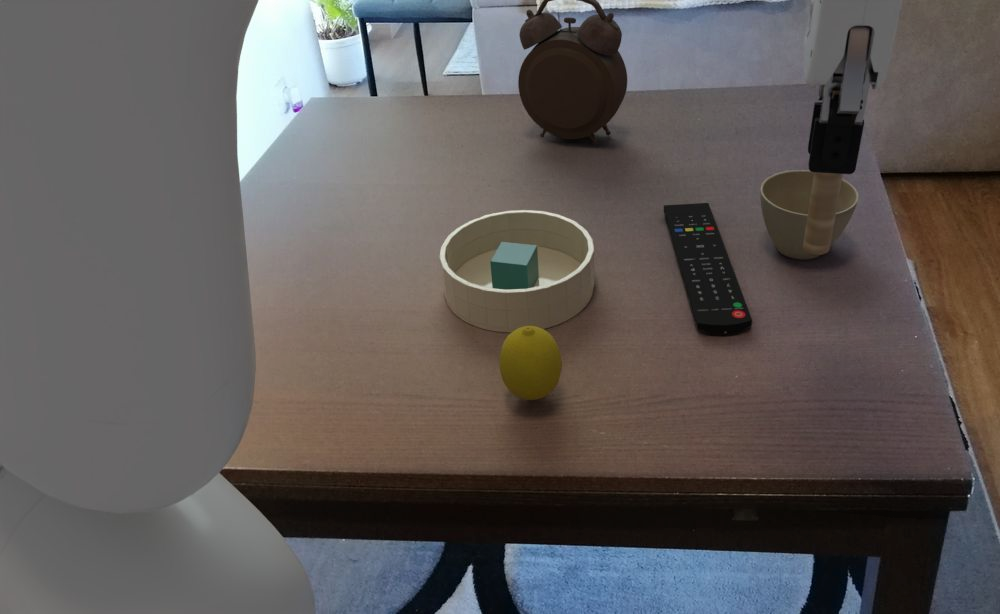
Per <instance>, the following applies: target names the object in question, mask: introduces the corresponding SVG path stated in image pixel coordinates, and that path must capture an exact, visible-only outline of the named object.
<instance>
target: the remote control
mask: <svg viewBox="0 0 1000 614" xmlns="http://www.w3.org/2000/svg"><path fill="white" fill-rule="evenodd" d="M662 210H663V214H664V218H665V222H666V224H667V228H668V231H669V235H670V239H671V242H672V245H673V249H674V253H675V255H676V259H677V263H678V268H679V270H680V274H681V277H682V281H683V284H684V287H685V291H686V295H687V298H688V302H689V305H690V309H691V312H692V315H693V319H694V323H695V327H696V329H697V330H699V331H701V332H703V333H705V334H707V335H710V336H715V337H717V336H718V337H729V336H733V335H734V336H735V335H739V334H741V333H743V332H744V331H746V330H748V329H749V328H751V327H752V325H753V318H752V316H751V313H750V310H749V307H748V304H747V302H746V300H745V297H744V294H743V292H742V289H741V287H740V284H739V281H738V278H737V276H736V273H735V269H734V268H733V264H732V262H731V260H730V257H729V254H728V251H727V248H726V247H725V243H724V241H723V238H722V235H721V232H720V230H719V227H718V225H717V222H716V219H715V216H714V214H713V211H712V209H711V206H710V204H709V202H698V203H681V204H679V203H678V204H663V209H662Z"/></svg>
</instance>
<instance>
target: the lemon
mask: <svg viewBox="0 0 1000 614" xmlns="http://www.w3.org/2000/svg"><path fill="white" fill-rule="evenodd" d="M562 366H563V365H562V356H561V352H560V348H559V345H558V344H557V342H556V340H555V338H554V336H552V334H551V333H550V332H548V331H547V330H545V329H542V328H539V327H536V326H524V327H521V328H518V329H516V330H514V331H513V332H512V333H509V334H508V335H507V337H506V338H505V339H504V341H503V342H502V346H501V348H500V354H499V371H500V376H501V379H502V382H503V384H504V385H505V387H506V388H507V390H508V391H510V393H511V394H512V395H514V396H515V397H518V398H519V399H523V400H526V401H536V400H537V401H538V400H540V399H543V398H544V397H546V396H548V395H549V394H550V393H552V392H553V391H554V390H555V388H556V387H557V385H558V384H559V381H560V379H561V374H562Z"/></svg>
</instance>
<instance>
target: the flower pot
mask: <svg viewBox="0 0 1000 614" xmlns="http://www.w3.org/2000/svg"><path fill="white" fill-rule="evenodd" d="M813 178H814V172H811V171H810V170H809V169H791V170H786V171H785V170H784V171H780V172H777V173H774V174H771V175H770V176H768V177H767V178H765V180H764V181H762V183H761V184H760V188H759V189H760V190H759V197H760V208H761V213H762V217H763V222H764V225H765V228H766V231H767V234H768V235H769V238H770V240H771V241H772V243H773V245H774V246H775V248H776V250H777V251H778V252H779V253H780V254H781V255H783V256H785V257H787V258H791V259H795V260H802V261H803V260H804V261H805V260H813V259H815V258H816V259H817V258H818V257H820V256H821V255H822V254H820V255H816V254H811V253H808V252H807V251H805V250H804V248H803V242H804V236H805V229H806V223H807V216H808V210H809V204H810V197H811V191H812V184H813ZM859 195H860V194H859V192H858V190H857V189H856V187H855V186H854V185H853V184H852V183H850V182H849V181H848V180H846V179H844V178H842V182H841V188H840V193H839V199H838V205H837V210H836V216H835V222H834V227H833V233H832V239H831V244H830V247H831V246H832V245H833V244H834V243H835V242H836V241H837V240H838V238H839V237H840V236H841V235H842V233H843V232H844V230H845V228H847V226H848V224H849V222H850V221H851V218H852V217H853V215H854V212H855V210H856V207H857V205H858V202H859V198H860V196H859Z"/></svg>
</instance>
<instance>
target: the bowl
mask: <svg viewBox="0 0 1000 614" xmlns="http://www.w3.org/2000/svg"><path fill="white" fill-rule="evenodd" d="M501 242H509V243H519V244H528V245H537V253H538V272H539V277H538V279H537V281H536V283H535V285H534V287H532V288H527V289H508V290H505V289H496V288H493V287H492V276H491V264H490V261H491V259H492V257H493V256H494V254H495V252H496V250H497V249H498V247H499V245H500V244H501ZM438 259H439V266H440V273H441V281H442V289H443V294H444V298H445V302H446V305H447V306H448V308H449V309H450V311H451V312H452V314H454V315H455V316H456V318H457V317H458V318H459V319H460V320H462V321H463V322H465V323H467V324H469V325H471V326H474V327H476V328H479V329H482V330H487V331H491V332H497V333H508V334H511V333H512V332H513V331H514V330H516V329H518V328H521V327H524V326H536V327H539V328H542V329H544V330H545V329H549V328H552V327H555V326H558V325H560V324H563V323H565V322H566V321H569V320H571V319H572V318H573V317H576V316H577V315H578V314H579V313H581V311H583V310H584V309H585V307H587V305H588V304H589V302H590V301H591V299H592V297H593V294H594V289H595V245H594V239H593V237H592V236H591V235H590V233H589V231H588V230H587V229H586V228H585V227H583V226H582V225H581V224H580V223H578V222H577V221H575V220H574V219H571V218H569V217H566V216H565V215H562V214H557V213H554V212H549V211H544V210H531V209H519V210H518V209H516V210H504V211H499V212H494V213H488V214H485V215H482V216H480V217H477V218H474V219H471V220H469V221H467V222H466V223H464V224H461V225H460V226H458V227H456V228H455V229H454V230H452V232H451V233H450V234H448V235H447V236H446V238H445V240H444V241H443V243H442V244H441V246H440V250H439V257H438Z"/></svg>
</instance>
